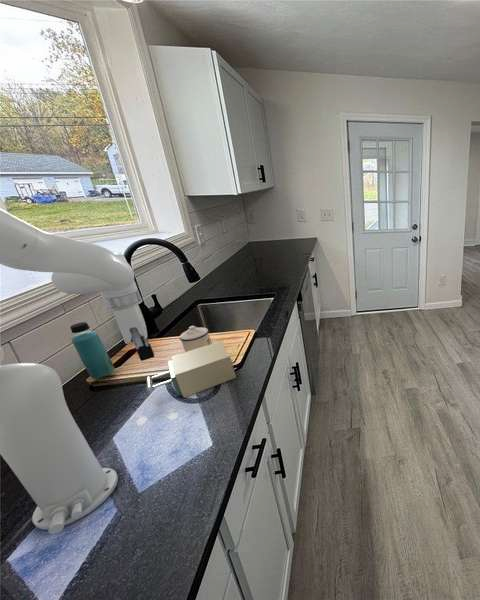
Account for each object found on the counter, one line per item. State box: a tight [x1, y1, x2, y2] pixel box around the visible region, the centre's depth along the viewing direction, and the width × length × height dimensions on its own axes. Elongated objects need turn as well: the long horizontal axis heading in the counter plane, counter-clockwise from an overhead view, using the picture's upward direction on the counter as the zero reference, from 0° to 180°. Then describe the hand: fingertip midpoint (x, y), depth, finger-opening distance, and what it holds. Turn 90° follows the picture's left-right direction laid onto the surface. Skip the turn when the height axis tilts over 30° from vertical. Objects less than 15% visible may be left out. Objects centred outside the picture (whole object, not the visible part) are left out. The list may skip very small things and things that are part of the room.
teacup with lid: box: [179, 325, 213, 352], centre depth 115 cm, size 12×9×12 cm
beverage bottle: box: [69, 321, 115, 379], centre depth 102 cm, size 6×7×20 cm
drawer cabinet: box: [170, 340, 237, 399], centre depth 101 cm, size 15×14×8 cm
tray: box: [145, 360, 183, 397], centre depth 98 cm, size 20×12×6 cm, turn 129°
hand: (147, 357), depth 91 cm, fingers closed
